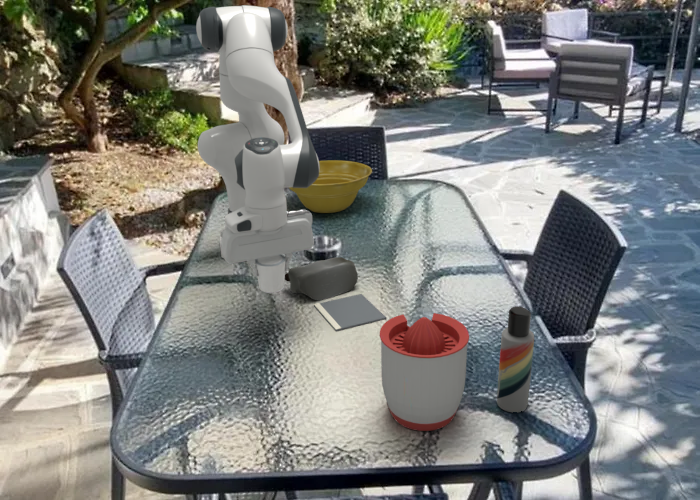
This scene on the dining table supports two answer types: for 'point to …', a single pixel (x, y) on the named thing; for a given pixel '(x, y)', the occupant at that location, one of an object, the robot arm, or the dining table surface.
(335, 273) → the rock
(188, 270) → the dining table surface
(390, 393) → the citrus juicer
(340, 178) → the planter bowl
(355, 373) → the dining table surface
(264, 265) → the shot glass
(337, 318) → the mat
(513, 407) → the lotion bottle
